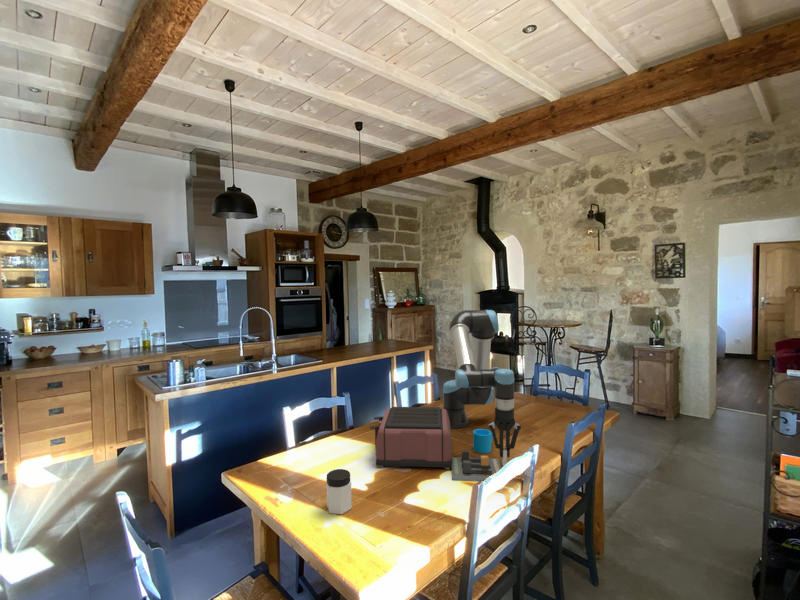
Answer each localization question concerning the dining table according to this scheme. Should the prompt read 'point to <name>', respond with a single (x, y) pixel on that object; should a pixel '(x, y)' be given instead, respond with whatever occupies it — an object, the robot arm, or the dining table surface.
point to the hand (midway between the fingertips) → (504, 464)
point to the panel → (474, 469)
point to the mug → (482, 440)
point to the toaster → (413, 437)
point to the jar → (338, 491)
